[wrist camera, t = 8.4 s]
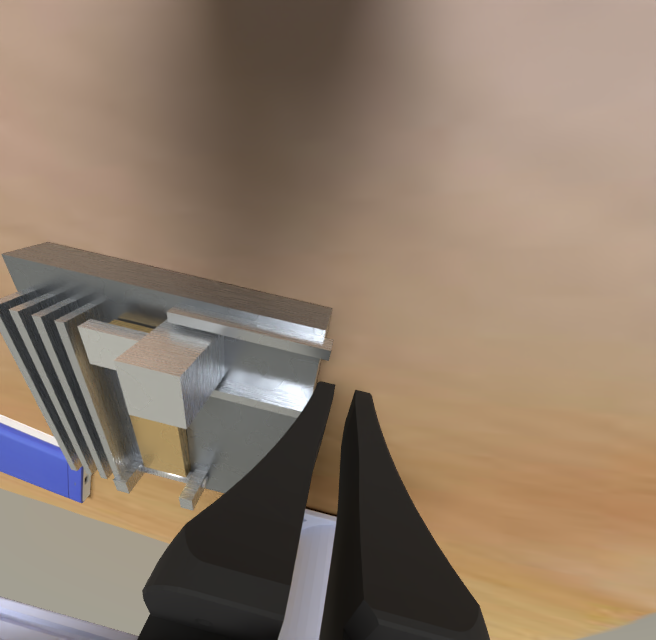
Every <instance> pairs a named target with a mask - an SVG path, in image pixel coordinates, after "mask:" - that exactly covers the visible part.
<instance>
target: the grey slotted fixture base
mask: <svg viewBox="0 0 656 640" xmlns="http://www.w3.org/2000/svg"><path fill="white" fill-rule="evenodd" d="M2 257H3V259H4V261H5V263H6V266H7V268H8V270H9V273H10V275H11V277H12V279H13V282H14V284H15V286H16V289H17V291H18V292H16V293H13V294H11V295H8V296H5V297H3V298H0V332H1V334H2V336H3V338H4V340H5V342H6V344H7V346H8V348H9V350H10V352H11V354H12V356H13V357H14V359H15V361H16V363H17V365H18V367H19V369H20V371H21V373H22V375H23V377H24V379H25V381H26V383H27V385H28V387H29V389H30V390H31V392H32V394H33V396H34V398H35V400H36V402H37V404H38V406H39V408H40V410H41V412H42V414H43V416H44V418H45V420H46V422H47V423H48V425H49V427H50V429H51V431H52V433H53V435H54V437H55V439H56V441H57V443H58V445H59V447H60V449H61V451H62V453H63V455H64V456H65V458H66V460H67V462H68V464H69V466H70V468H71V470H75V471H78V470H79V469H80V468H81V467H82V466H83V468H84V470H85V472H86V474H90V475H93V474H94V473H95V471H96V470H97V469H98V471H99V474H100V476H101V478H105V479H108V478H109V476H110V475H111V474H112V473H113V474H114V477H115V478H114V479H113V481H114V483H115V486H116V488H117V490H118V491H122V492H126V493H130V492H131V490H132V489H133V488H134V486H135V485H136V484H137V482H138V481H139V480H140V478H141V477H142V476H143V474H144V473H145V472H146V473H149V474H153V475H157V476H161V477H165V478H168V479H172V480H176V481H180V482H184V483H187V484H186V486H185V488H184V490H183V491H182V493H181V495H180V496H179V500H180V505H181V507H182V508H186V509H189V510H194V508H195V506H196V504H197V502H198V500H199V498H200V496H201V494H202V492H203V491H204V489H205V488H206V489H210V490H214V491H218V492H222V493H226V492H227V491H228V490H229V489H230V488H232V487H233V486H234V485H235V484H236V483H237V482H238V481H240V480H241V479H242V478H243V477H244V476H245V475H246V474H247V473H248V472H249V471H250V470H252V469H253V468H254V467H255V466H256V465H257V464H258V463H259V462H260V461H261V460H262V459H263V458H264V457H265V456H266V455H267V453H268V452H269V451H270V450H271V449H272V448H273V447H274V446H275V445H276V444H277V443H278V441H279V440H280V439H281V438H282V437H283V436H284V434H285V433H286V432H287V430H288V429H289V428H290V427H291V425H292V424H293V423H294V422H295V420H296V419H297V418H298V416H299V415H300V413H301V412H302V410H303V409H304V407H305V406H306V404H307V403H308V401H309V399H310V398H311V396H312V394H313V392H314V390H315V387H316V383H317V378H318V373H319V369H320V364H321V359H323V360H328V361H329V357H330V353H331V349H332V345H333V340H332V339H328V338H326V336H327V331H328V327H329V322H330V317H331V313H332V308H329V307H324V306H320V305H316V304H311V303H307V302H303V301H299V300H294V299H290V298H286V297H281V296H277V295H273V294H269V293H264V292H260V291H256V290H251V289H247V288H243V287H238V286H234V285H230V284H226V283H221V282H217V281H213V280H208V279H204V278H200V277H196V276H191V275H187V274H183V273H178V272H174V271H170V270H166V269H161V268H157V267H153V266H148V265H144V264H140V263H135V262H131V261H127V260H123V259H118V258H114V257H110V256H105V255H101V254H97V253H93V252H88V251H84V250H80V249H75V248H71V247H67V246H63V245H58V244H54V243H50V242H46V243H42V244H38V245H34V246H30V247H27V248H23V249H19V250H15V251H11V252H7V253H3V254H2ZM89 319H93V320H97V321H101V322H105V323H109V322H111V321H113V320H114V319H115V320H119V321H123V322H127V323H132V324H136V325H140V326H144V327H148V328H152V329H155V328H156V327H158V326H159V325H160V324H161V323H163V322H164V321H165V320H167V319H168V322H170V323H174V324H178V325H182V326H186V327H190V328H195V329H199V330H203V331H207V332H211V333H215V334H220V335H224V377H223V378H222V380H221V381H220V382H219V384H218V385H217V387H216V388H215V390H214V391H213V392H212V394H211V395H210V397H209V398H208V400H207V401H206V402H205V404H204V405H203V407H202V408H201V410H200V411H199V412H198V414H197V415H196V417H195V418H194V420H193V421H192V422H191V424H190V425H189V427H188V428H187V429H186V435H187V442H188V449H189V456H190V463H191V470H190V472H189V473H188V475H187V477H186V478H185V477H182V476H178V475H174V474H170V473H166V472H162V471H159V470H155V469H151V468H147V467H144V463H143V460H142V456H141V453H140V450H139V446H138V443H137V439H136V436H135V432H134V429H133V426H132V422H131V419H130V415H129V413H128V410H127V406H126V403H125V399H124V396H123V392H122V388H121V385H120V381H119V378H118V374H117V371H116V370H113V369H109V368H105V367H101V366H97V365H93V364H90V362H89V359H88V356H87V353H86V350H85V347H84V344H83V341H82V338H81V335H80V332H79V329H78V326H79V325H80V324H82V323H84V322H86V321H88V320H89Z"/></svg>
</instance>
